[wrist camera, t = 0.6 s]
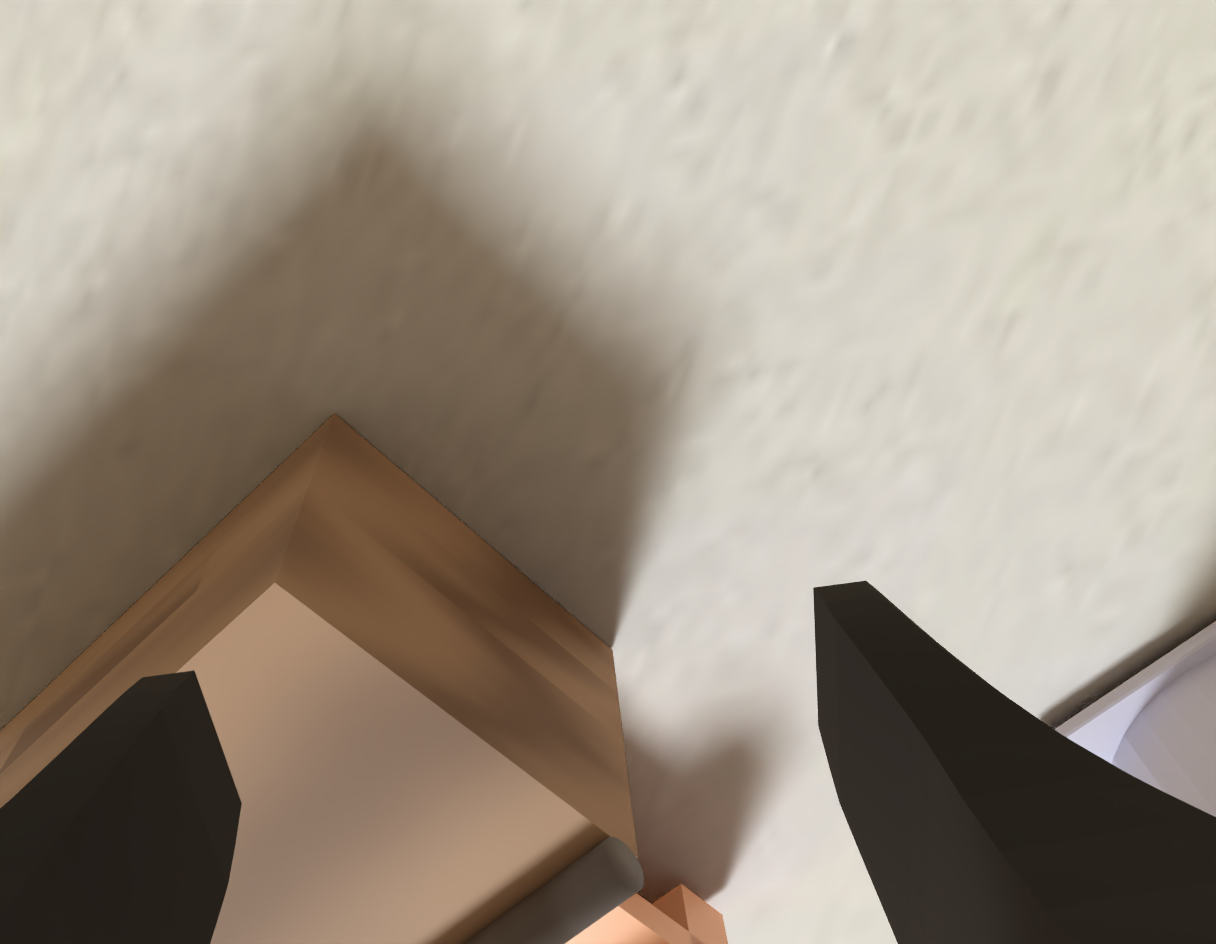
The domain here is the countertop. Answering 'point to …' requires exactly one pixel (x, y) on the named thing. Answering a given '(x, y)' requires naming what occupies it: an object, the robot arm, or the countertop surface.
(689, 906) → the peach l-shaped bracket
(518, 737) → the dispenser
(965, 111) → the countertop surface
